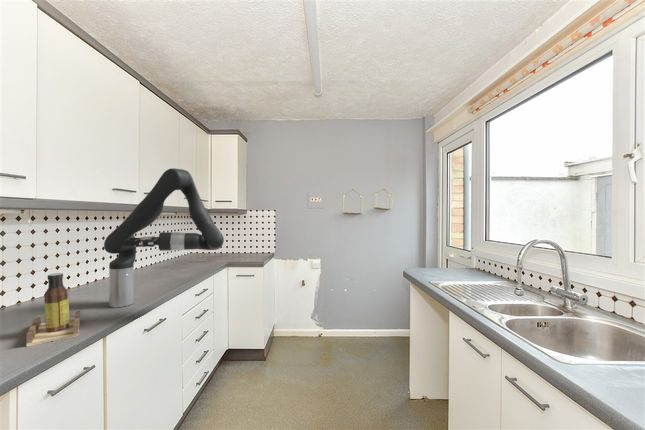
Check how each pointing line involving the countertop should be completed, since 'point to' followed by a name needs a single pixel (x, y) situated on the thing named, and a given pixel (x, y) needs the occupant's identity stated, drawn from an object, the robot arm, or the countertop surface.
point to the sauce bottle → (56, 304)
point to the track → (41, 335)
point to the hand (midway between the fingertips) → (126, 241)
